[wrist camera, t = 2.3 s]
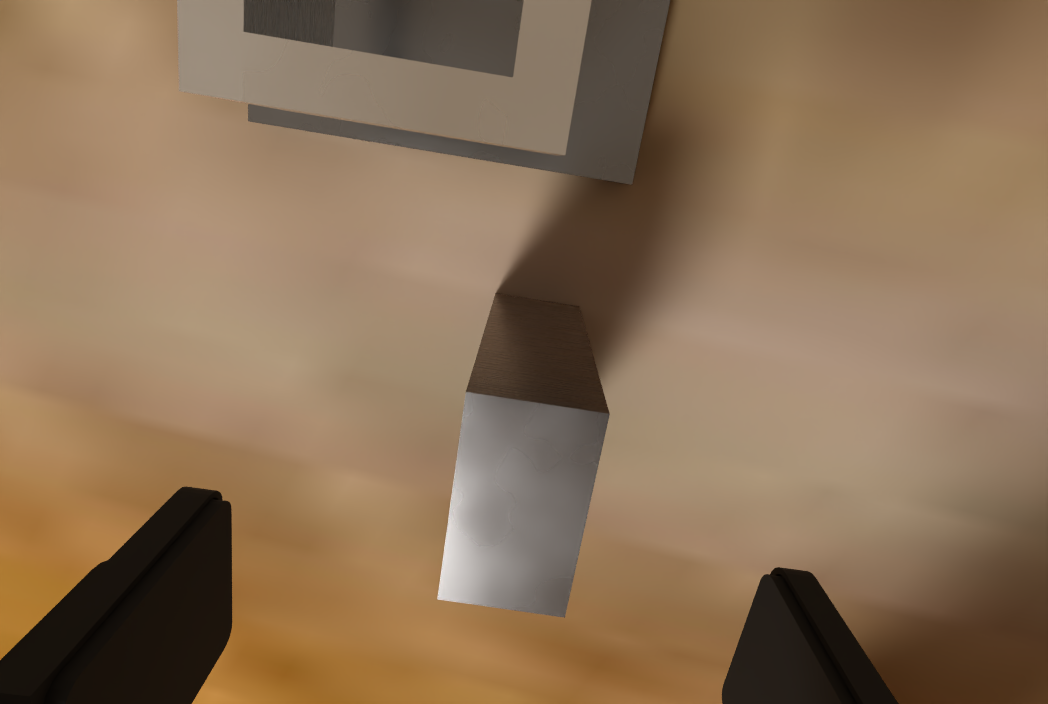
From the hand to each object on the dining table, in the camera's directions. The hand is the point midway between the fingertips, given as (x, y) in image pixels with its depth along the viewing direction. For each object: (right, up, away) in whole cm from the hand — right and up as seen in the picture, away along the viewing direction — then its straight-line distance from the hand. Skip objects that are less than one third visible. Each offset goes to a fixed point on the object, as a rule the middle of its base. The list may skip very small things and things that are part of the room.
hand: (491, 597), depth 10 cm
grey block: (+1, +4, +13) cm, 14 cm away
